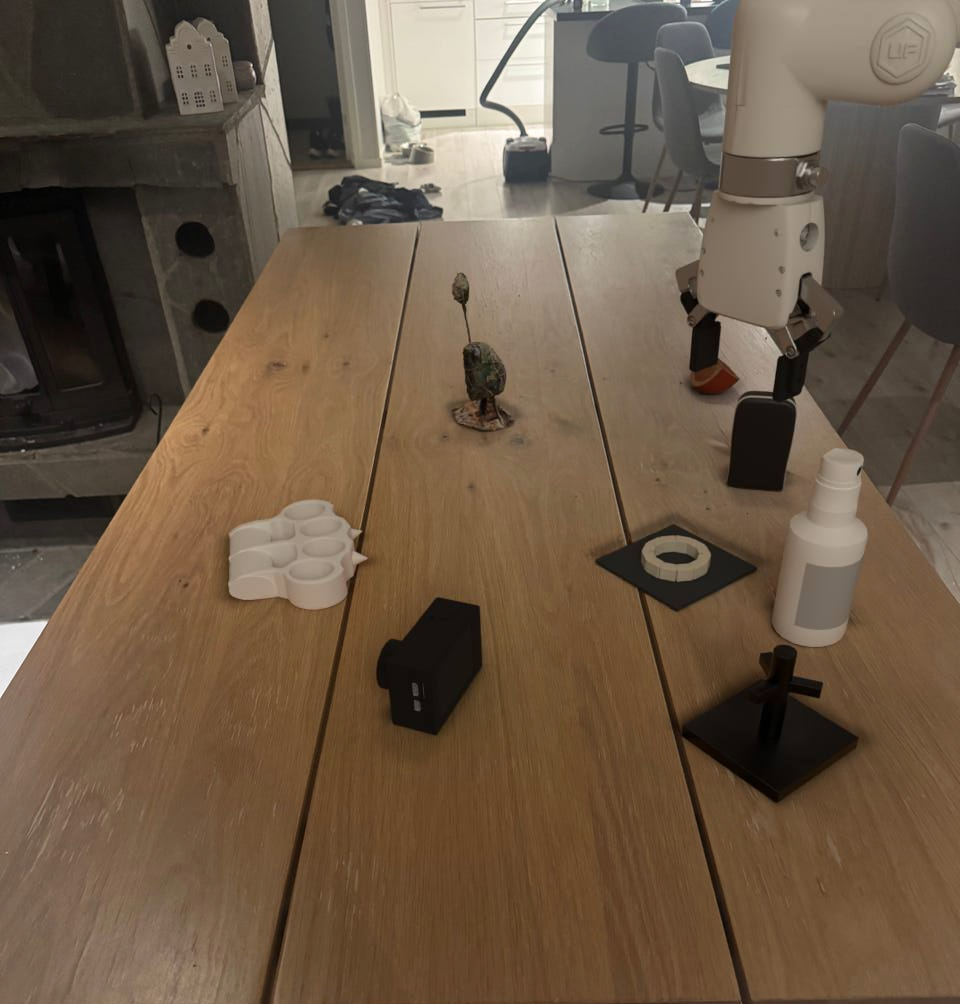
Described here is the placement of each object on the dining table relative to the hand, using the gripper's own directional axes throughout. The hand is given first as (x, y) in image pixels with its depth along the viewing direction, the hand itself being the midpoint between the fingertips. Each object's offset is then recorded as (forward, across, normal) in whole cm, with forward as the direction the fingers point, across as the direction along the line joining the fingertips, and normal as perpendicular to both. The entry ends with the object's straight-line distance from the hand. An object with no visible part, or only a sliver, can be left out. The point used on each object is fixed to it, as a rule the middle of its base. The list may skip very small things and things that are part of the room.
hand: (743, 382), depth 86 cm
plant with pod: (+21, +48, -5) cm, 53 cm away
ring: (+21, +5, +1) cm, 22 cm away
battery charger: (+22, +12, -20) cm, 32 cm away
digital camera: (+21, +4, +33) cm, 40 cm away
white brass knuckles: (+21, +31, +32) cm, 50 cm away
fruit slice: (+22, +35, -38) cm, 56 cm away
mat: (+21, +5, +1) cm, 22 cm away
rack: (+22, -19, +15) cm, 32 cm away
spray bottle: (+22, -11, 0) cm, 24 cm away
